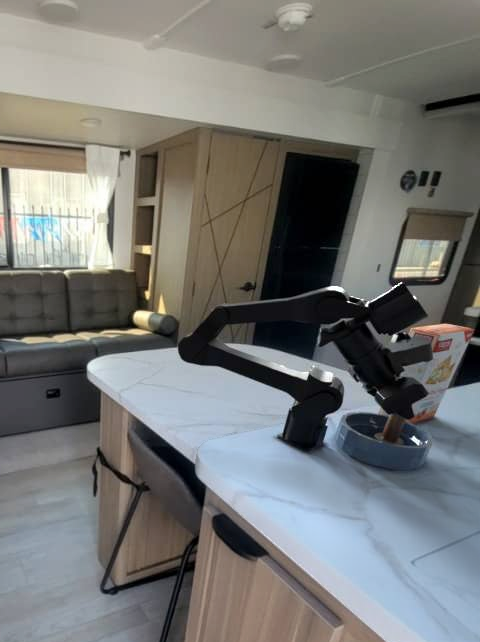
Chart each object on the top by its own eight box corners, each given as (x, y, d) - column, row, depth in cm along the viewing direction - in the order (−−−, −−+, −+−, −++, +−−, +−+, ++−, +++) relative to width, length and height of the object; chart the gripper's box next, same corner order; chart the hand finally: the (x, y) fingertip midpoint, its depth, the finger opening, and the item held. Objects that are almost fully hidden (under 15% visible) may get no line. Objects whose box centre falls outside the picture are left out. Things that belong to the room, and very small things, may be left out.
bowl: (319, 444, 80) (326, 421, 78) (356, 427, 88) (364, 406, 85) (400, 481, 69) (411, 456, 67) (435, 458, 77) (446, 435, 75)
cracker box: (402, 429, 87) (442, 334, 78) (374, 418, 92) (408, 327, 83) (436, 418, 93) (477, 328, 84) (408, 408, 98) (444, 321, 89)
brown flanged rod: (390, 453, 74) (413, 398, 69) (366, 441, 78) (387, 388, 73) (406, 449, 76) (430, 395, 71) (382, 437, 79) (403, 385, 75)
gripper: (438, 333, 59) (490, 411, 62) (387, 309, 75) (430, 372, 78) (361, 378, 64) (413, 448, 67) (329, 346, 80) (371, 404, 83)
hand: (407, 414), depth 73 cm, fingers closed on brown flanged rod, 2 cm apart
